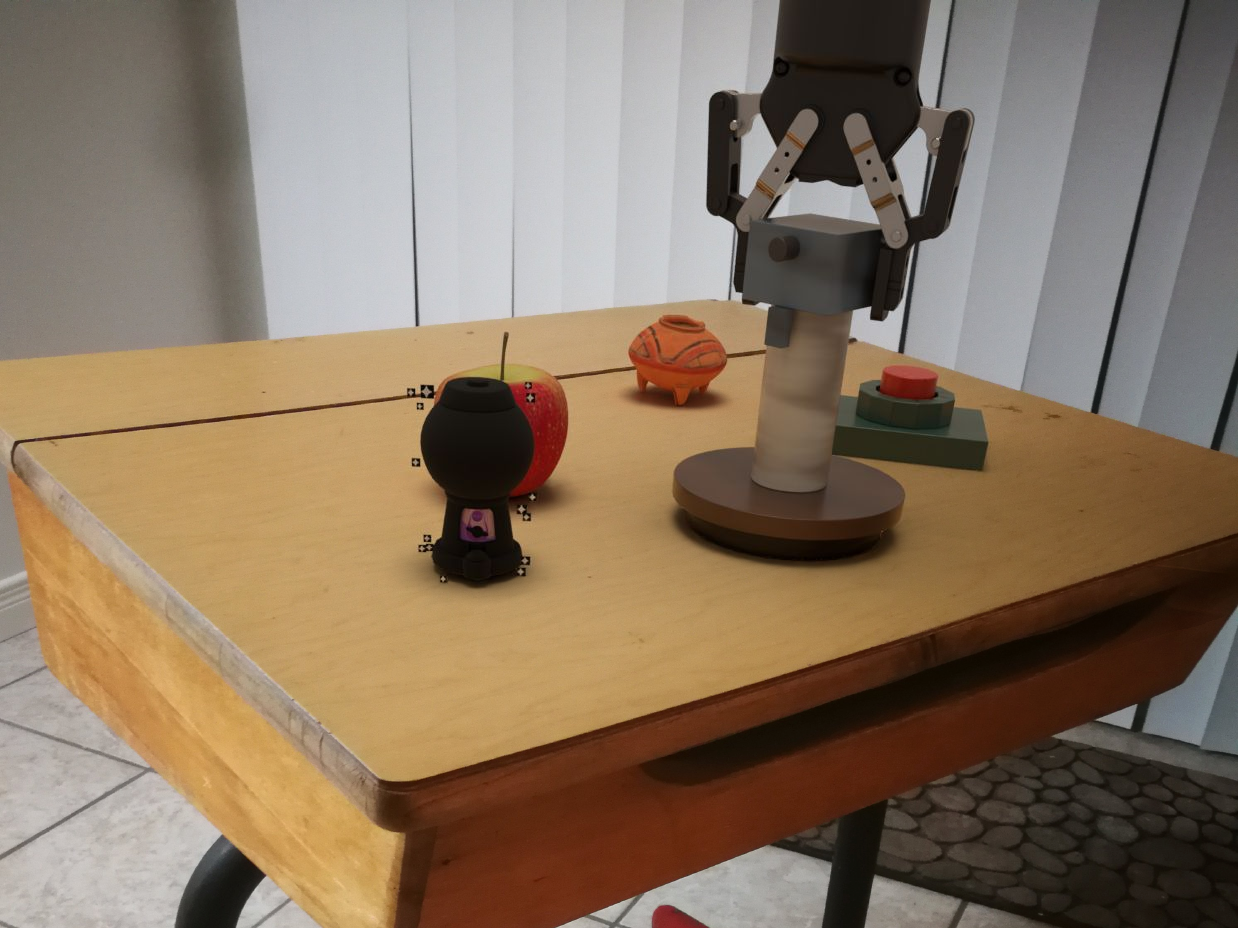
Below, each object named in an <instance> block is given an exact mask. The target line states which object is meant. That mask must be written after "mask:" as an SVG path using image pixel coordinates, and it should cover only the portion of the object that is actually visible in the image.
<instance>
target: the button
mask: <svg viewBox="0 0 1238 928" xmlns="http://www.w3.org/2000/svg"><path fill="white" fill-rule="evenodd" d="M938 379H939V374H938V373H937V372H936V371H934V370H931V369H928V368H925V367H919V366H913V365H888V366H885V367H884V368H882V372H881V376H880V380H881V383H880V389H879V392H880V393H882V394H885V395H889V396H893V397H897V398H905V399H914V400H918V399H933V398H934V396H935V390H936V386H938V385H937V384H938Z"/></svg>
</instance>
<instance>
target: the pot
mask: <svg viewBox="0 0 1238 928" xmlns="http://www.w3.org/2000/svg"><path fill="white" fill-rule="evenodd" d="M627 353H628V357H629V359H630V362H631V363H632V365H633V366H634V368H635V369H636V383H637V386H638V389H639V390H640V392H641V393H644V392H646V389H647V385H648V384H649V383H651V384H652V385H653V386H656V387H658V388H660V389H662V390H666V391H670V392H672V393H673V399H674V403H675V406H682V405H684V404H685V403H686V402H687V399H688V398H689V394H690V392H691V391H693V390H696V389H698V394H700V395H704V394H705V393H706V392H707V390H708V388H709V386H710V383H711V381H713V380H715V378H717V377H718V376H719V375H720V374H721V373H723V371H724V370H725V368H726V366H727V364H728V354H727V351H726V349H725V347H724V345H723V344H722V342H721V341H720V340H719V338H718V337H716V336H715V334H713V332H711V331H710V330H708V329H707V328H706V324H705V322H704V321H703V320H701V321H699V320H696V319H694V318H691V317H689V316H688V315H683V314H664V315H662V316H661V317H659V318H658V321H657V322H653V323H652V324H650V325H649V326H647V327H645V328H644V329H643V330H641V331H640V332H639V333H638V334H637V335H636V336H635V338H634V339H633V340H632V342H631V344H630V345H629V347H628V350H627Z"/></svg>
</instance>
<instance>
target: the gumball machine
mask: <svg viewBox="0 0 1238 928" xmlns="http://www.w3.org/2000/svg"><path fill="white" fill-rule="evenodd" d="M419 387H420V399H426V400H427V399H430V400H435V385H434V384H420V386H419ZM525 389H532V382H525ZM406 395H407V397H408V398H410V397H411V398H416V388H415V387H414V388H413V387H412V388H411V387H407V388H406ZM535 395H536V393H526V402H531V403H535ZM416 410H417V411H418V410H419V411H424V410H425V404H424V402H416ZM419 445H420V453H421V457H422V459H423V462H424V464H425V467H426V470H427V472H428V474H429V476H430V477H431V479H432V480H433V481H434V482H435V483H436V484H437V485H438V486H439V487H440V488H441V489H442V490H443V491H444V494H445V497H446V504H445V509H444V517H443V522H442V531H441V536H440V537H439V538H437V539H436V540H435V542H434V543H432V534H422V535H423V536H422V537H423V540H422V541H423V543H425V544H417V545H418V546H417V547H418V548H417V550H418V553H427V552H431V559H432V562H433V564H434V565H435V566H437V567H438V568H439V569H441V570H443V571H446V572H448V573H451V574H456V575H460V576H463V577H464V578H466V579H469V580H477V581H478V580H480V581H481V580H487V579H488V578H490V577H492V576H493V577H494V576H499V575H500V576H501V575H504V574H507V573H510V572H513V571H515V570H516V577H526V575H527V567H521V566H531V555H530V556H529V555H528V556H527V555H525V556H524V555H523V550H522V546H521V544H520V542H518V541H517V540H516V539H515V538H514V533H513V526H512V519H511V513H510V512H511V511H510V505H509V499H510V497H509V496H510V492H511V491H513V490H514V489H515V488H516V487H517V486H518V485H519V484H520V483H521V482H522V481H523V479H524V478H525V476H526V474H527V472H528V470H529V468H530V466H531V464H532V460H533V456H534V448H535V445H534V436H533V431H532V428H531V425H530V423H529V421H528V419H527V417H526V416H525V414H524V412H523V411H522V409H521V408H520V407H519V406H518V405H517V403H516V401H515V398H514V396H513V393H512V391H511V388H510V386H509V385H508V384H507V383H505V382H504V381H501V380H497V379H492V378H485V377H461V378H456V379H452V380H449V381H448V382H447V383H446V384H445V386H444V389H443V391H442V393H441V396H440V398H439V401H438V402H437V403H436V404H435V405H434V404H433V407H432V408H431V409H430V410H429V411H428V414H427V415H426V416H425V419H424V421H423V423H422V427H421V431H420V440H419ZM411 467H413V468H414V467H415V468H419V467H420V468H421V458H420V457H411ZM528 502H533V503H534V502H538V492H529V493H528ZM516 515H522V522H532V513H531V512H528V504H527V503H526V504H525V503H518V504H516ZM439 583H444V584H445V583H448V575H439Z"/></svg>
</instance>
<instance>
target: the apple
mask: <svg viewBox="0 0 1238 928" xmlns="http://www.w3.org/2000/svg"><path fill="white" fill-rule="evenodd" d="M509 335H510V334H509V331H505V332H503V338H502V347H501V348H502V350H501V358H500V359H501V360H500V362H501V363H498V364H489V365H484V366H480V367H474V368H470V369H467V370H462V371H459V372H456V373H453V374H450V375H449V376H447V377H446V378H444V379H443V380H442V381H441V382H440V384H439V385H438V387H437V390H436V393H435V395H434V399H433V406H434V405H435V404H436V403H437V402H438V401H439V398H440V396H441V393H442V391H443V389H444V386H445V384H446V383H447V382H448V381H449V380H452V379H456V378H461V377H485V378H492V379H497V380H501V381H504V382H505V383H507V384H508V385H509V386H510V388H511V391H512V393H513V396H514V398H515V401H516V403H517V405H518V406H519V407H520V408H521V409H522V411H523V412H524V414H525V416H526V417H527V419H528V421H529V423H530V425H531V428H532V431H533V436H534V445H535V448H534V456H533V460H532V464H531V466H530V468H529V470H528V472H527V474H526V476H525V478H524V479H523V481H522V482H521V483H520V484H519V485H518V486H517V487H516V488H515V489H514V490H513V491H511V492H510V496H509V498H514V497H519V496H523V495H526V494H529V493H532V492H534V491H535V490H538V488H540V487H542V486H543V485H544V484H545V483H546V482H547V481H548V480H549V479H550V477H551V475H552V474H553V473H554V471H555V470H556V468H557V466H558V464H559V462H560V460H561V458H562V454H563V452H564V449H565V446H566V442H567V438H568V430H569V408H568V407H569V406H568V400H567V396H566V393H565V390H564V387H563V386H562V384H561V382H560V381H559V380H558V379H557V377H555V376H554V375H552V374H551V373H550V372H548V371H547V370H544V369H541V368H539V367H535V366H532V365H527V364H519V363H505V361H506V350H507V345H508V342H509V341H508V340H509ZM525 382H532V389H525ZM526 393H536V395H535V403H531V402H526Z"/></svg>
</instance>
